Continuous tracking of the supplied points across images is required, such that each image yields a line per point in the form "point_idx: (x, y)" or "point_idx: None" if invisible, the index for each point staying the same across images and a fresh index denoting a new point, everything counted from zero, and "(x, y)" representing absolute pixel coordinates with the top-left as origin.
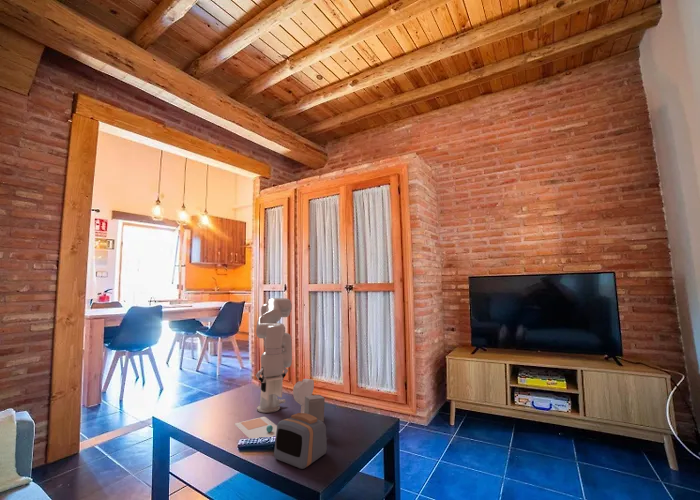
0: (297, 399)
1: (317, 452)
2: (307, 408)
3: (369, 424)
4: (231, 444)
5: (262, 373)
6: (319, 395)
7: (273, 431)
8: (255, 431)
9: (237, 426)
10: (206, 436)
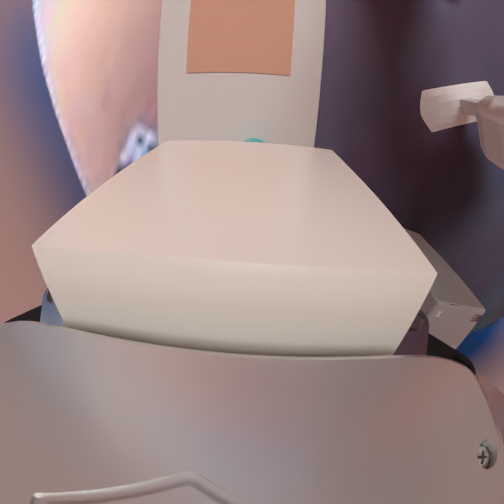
0: (479, 133)
1: None
2: None
3: (485, 299)
4: (100, 153)
5: (6, 340)
6: (474, 320)
7: None
8: (205, 105)
9: (163, 16)
10: (56, 52)
